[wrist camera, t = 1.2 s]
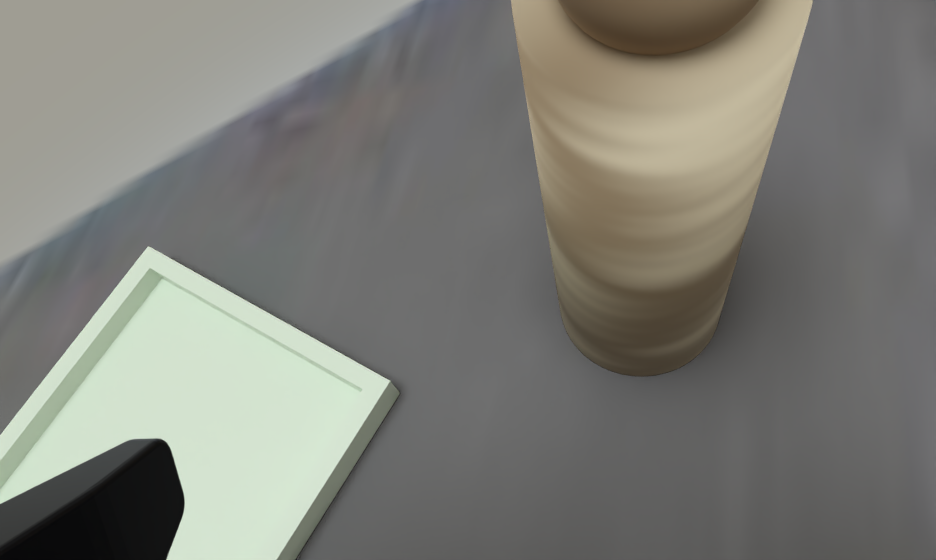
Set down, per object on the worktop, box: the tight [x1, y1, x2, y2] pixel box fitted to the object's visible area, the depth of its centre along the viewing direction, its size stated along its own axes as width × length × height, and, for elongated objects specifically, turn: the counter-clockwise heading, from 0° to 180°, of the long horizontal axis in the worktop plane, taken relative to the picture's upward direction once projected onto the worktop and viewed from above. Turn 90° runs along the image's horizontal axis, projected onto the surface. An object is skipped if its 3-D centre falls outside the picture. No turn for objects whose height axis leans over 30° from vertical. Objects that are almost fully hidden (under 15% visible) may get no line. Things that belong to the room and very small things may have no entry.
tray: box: [0, 246, 400, 560], centre depth 25 cm, size 10×10×1 cm
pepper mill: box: [511, 0, 813, 376], centre depth 18 cm, size 5×5×16 cm
